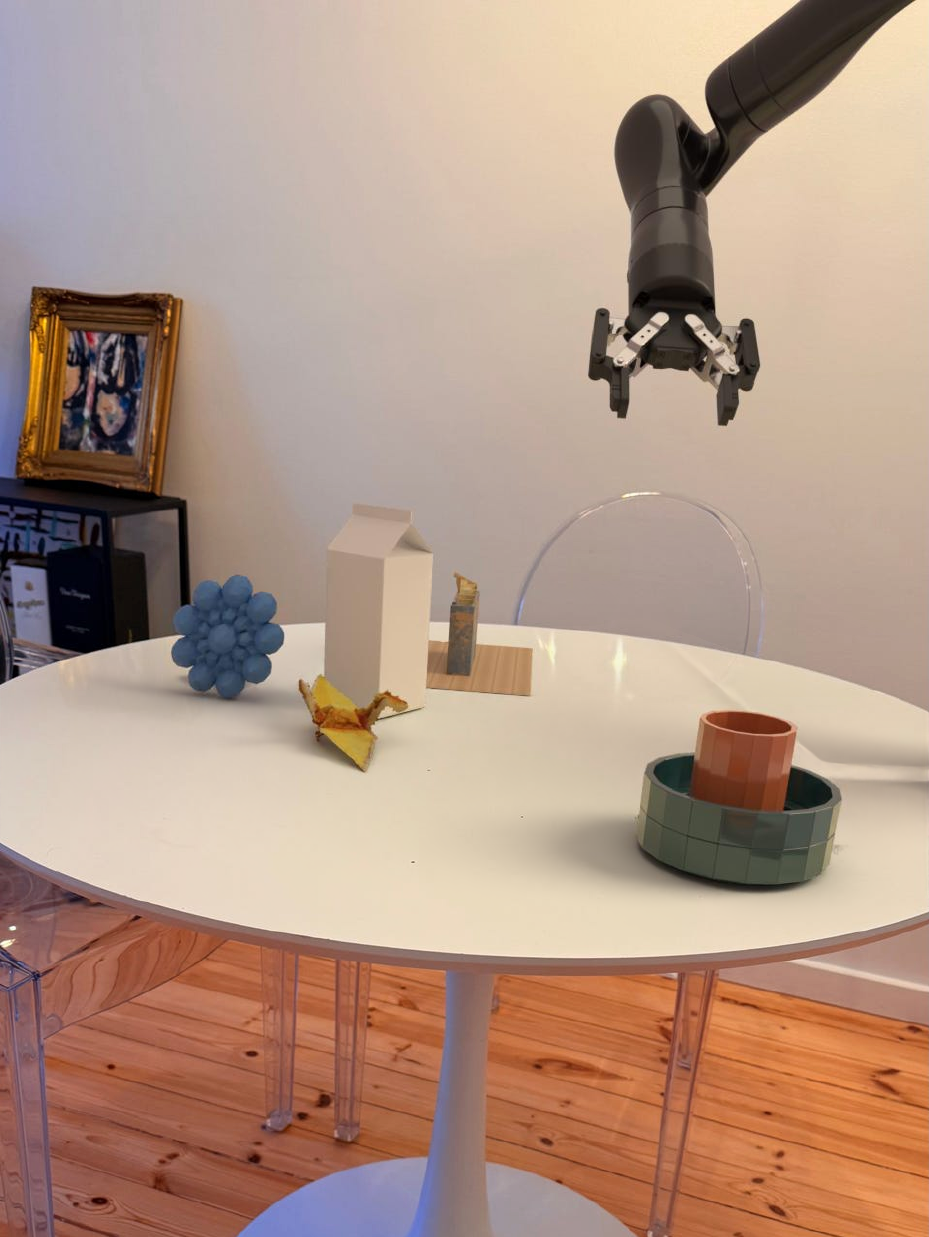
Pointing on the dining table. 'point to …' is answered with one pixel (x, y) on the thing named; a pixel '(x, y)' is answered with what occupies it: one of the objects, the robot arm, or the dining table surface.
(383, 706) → the origami crane
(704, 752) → the cup
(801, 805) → the bowl
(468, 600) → the rusty post on board
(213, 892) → the dining table surface
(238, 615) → the blue sphere cluster flower
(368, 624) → the milk carton
